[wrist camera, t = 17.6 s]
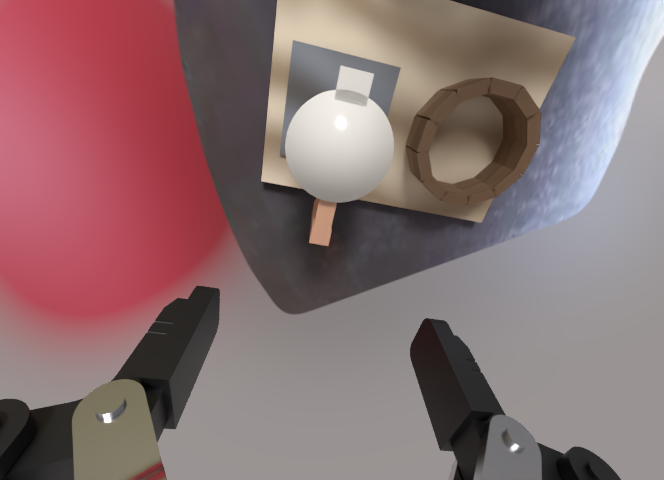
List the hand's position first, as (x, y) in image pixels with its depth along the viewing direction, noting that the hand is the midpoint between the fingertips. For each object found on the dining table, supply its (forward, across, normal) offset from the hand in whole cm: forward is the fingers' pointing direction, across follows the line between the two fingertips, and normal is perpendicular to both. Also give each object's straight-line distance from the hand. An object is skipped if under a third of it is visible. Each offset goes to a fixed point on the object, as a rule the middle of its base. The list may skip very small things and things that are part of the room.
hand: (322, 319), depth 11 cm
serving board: (+20, -6, -7) cm, 22 cm away
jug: (+19, 0, -3) cm, 19 cm away
